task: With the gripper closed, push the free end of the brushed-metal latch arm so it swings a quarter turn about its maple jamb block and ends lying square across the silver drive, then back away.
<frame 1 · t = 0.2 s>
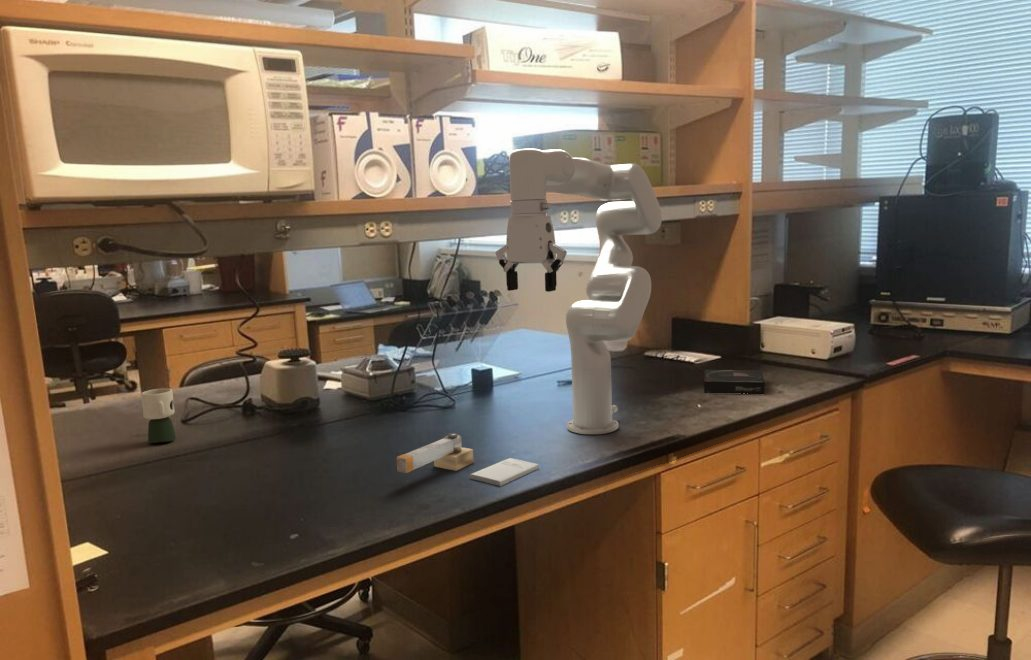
hand: (531, 290, 163), 37 cm above the lab bench, fingers open, 9 cm apart
external hard drive: (505, 476, 158), on the lab bench
latch arm: (431, 451, 158), point 5 cm above the lab bench, hinge at 0.0°
character mug: (162, 442, 191), on the lab bench
portable cd player: (733, 389, 225), on the lab bench
jamb block: (454, 464, 165), on the lab bench
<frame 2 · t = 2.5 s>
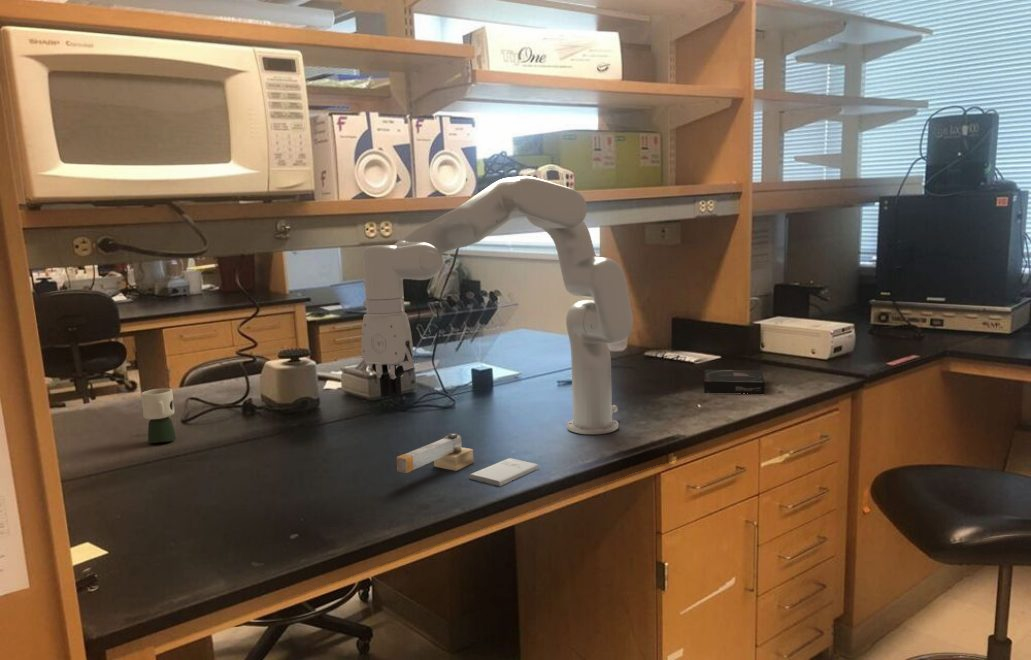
hand: (391, 395, 156), 17 cm above the lab bench, fingers closed
nothing on the lab bench moved.
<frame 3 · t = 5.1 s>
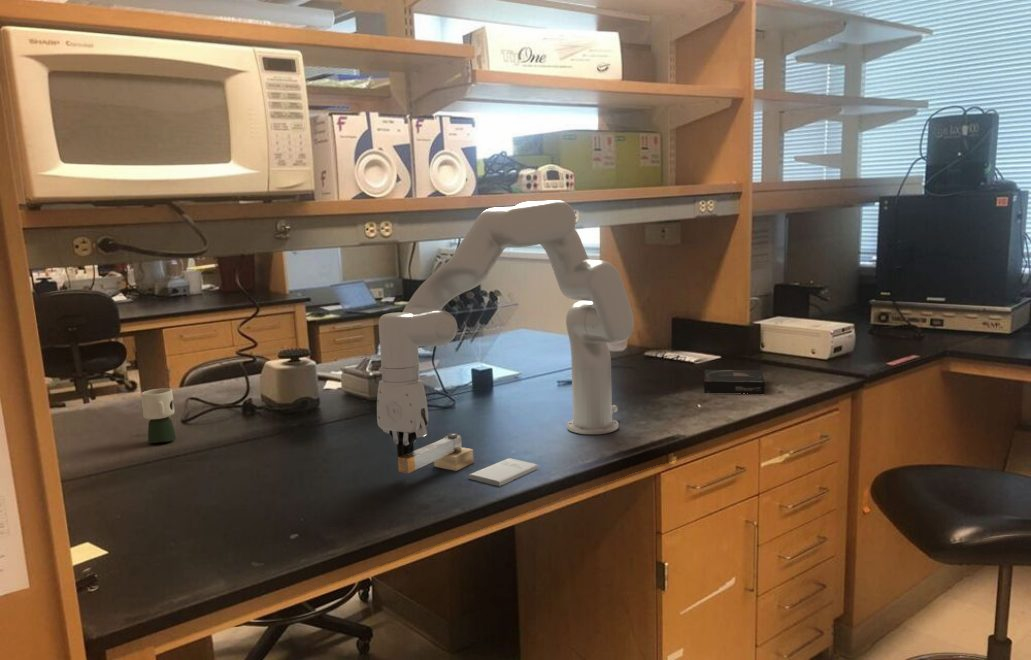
hand: (406, 461, 157), 4 cm above the lab bench, fingers closed
latch arm: (431, 451, 158), point 5 cm above the lab bench, hinge at 1.5°, touching gripper
everything else where it was.
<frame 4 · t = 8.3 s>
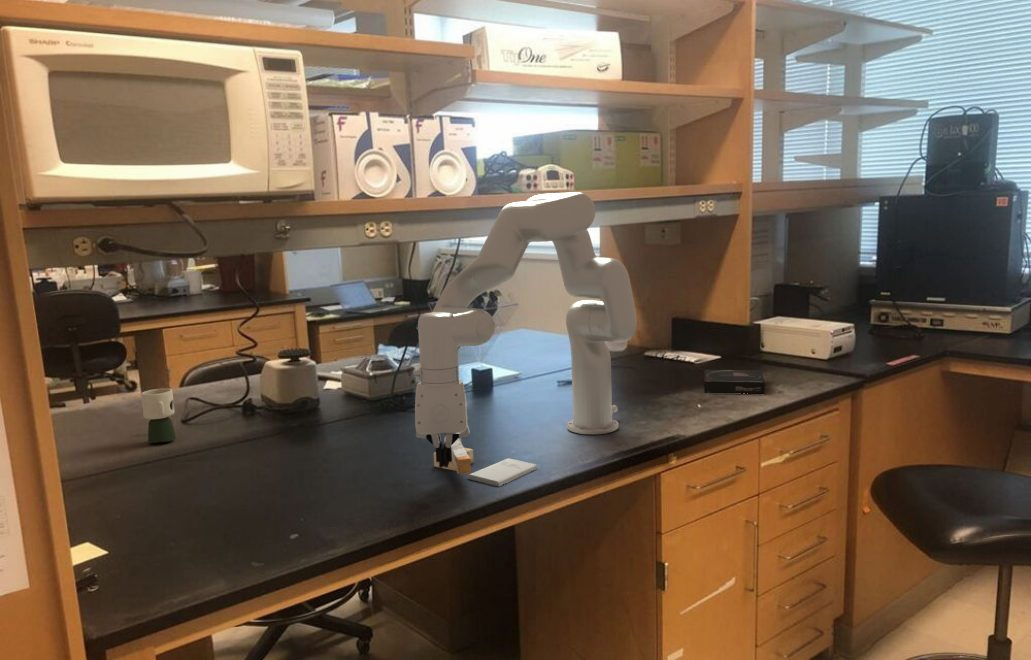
hand: (444, 465, 153), 4 cm above the lab bench, fingers closed
latch arm: (457, 451, 157), point 5 cm above the lab bench, hinge at 47.1°, touching gripper
everything else where it was.
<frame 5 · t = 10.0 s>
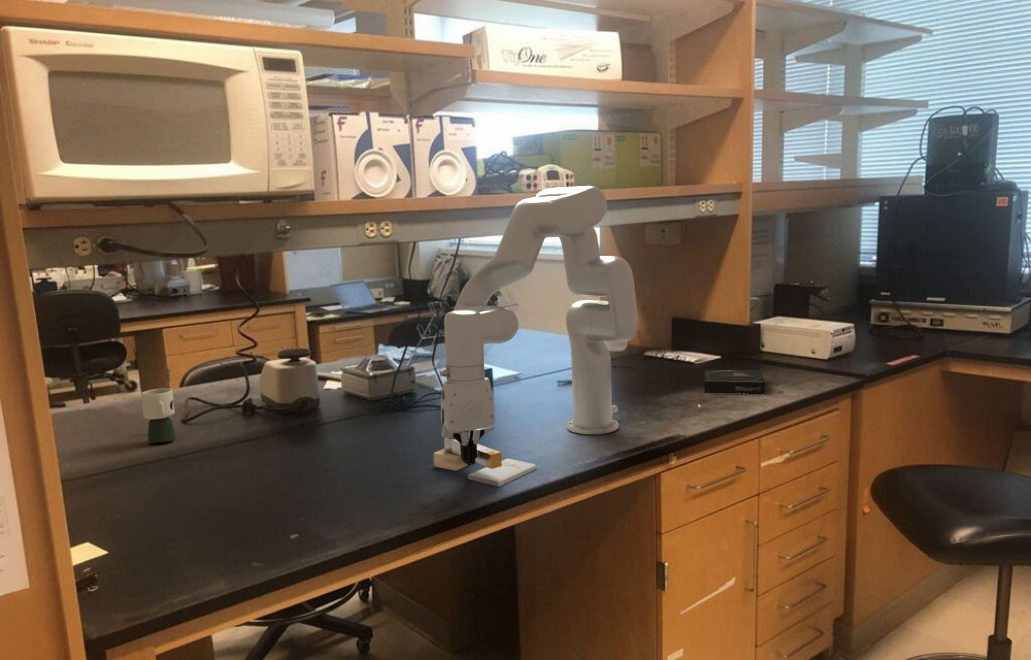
hand: (469, 462, 153), 4 cm above the lab bench, fingers closed
latch arm: (471, 449, 158), point 5 cm above the lab bench, hinge at 71.8°, touching gripper
everything else where it was.
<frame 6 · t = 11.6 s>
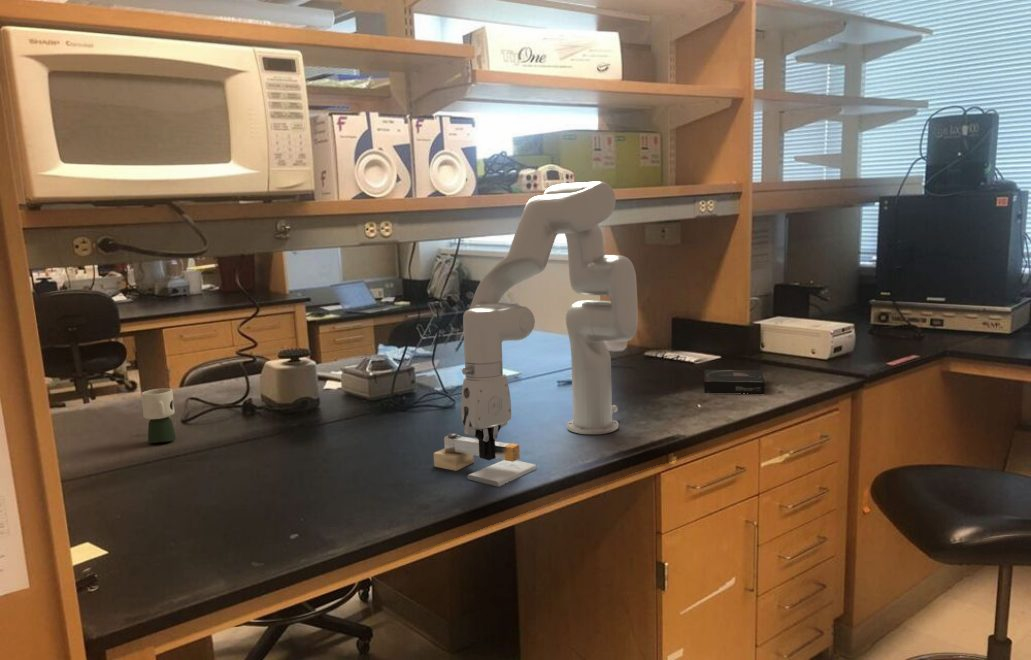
hand: (487, 458, 156), 4 cm above the lab bench, fingers closed
latch arm: (480, 446, 160), point 5 cm above the lab bench, hinge at 92.9°, touching gripper
everything else where it was.
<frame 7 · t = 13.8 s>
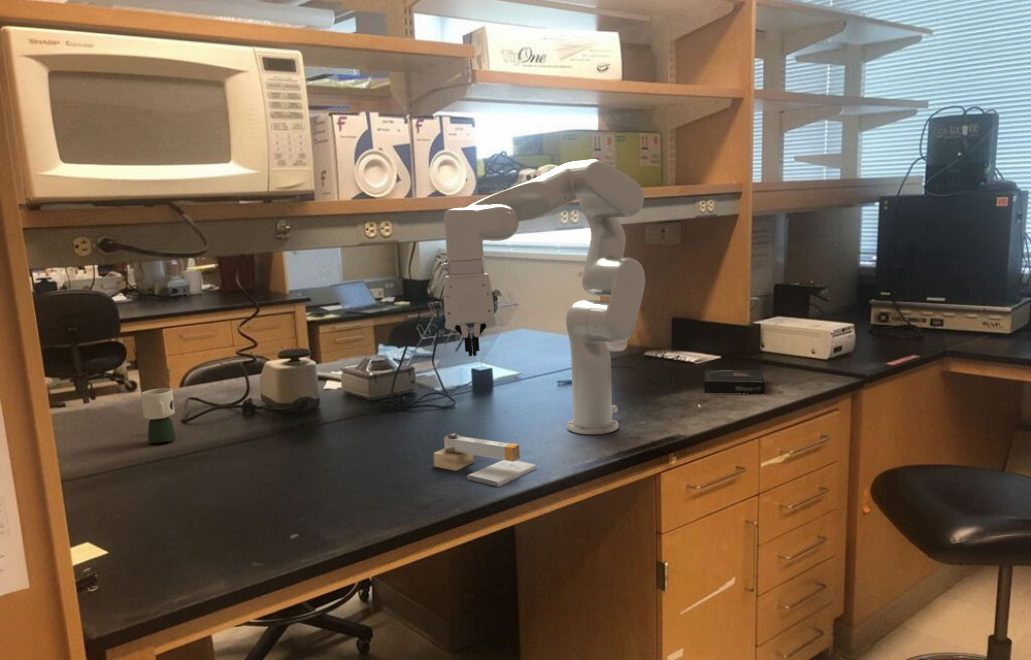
hand: (472, 354, 161), 24 cm above the lab bench, fingers closed
latch arm: (480, 446, 160), point 5 cm above the lab bench, hinge at 93.0°
everything else where it was.
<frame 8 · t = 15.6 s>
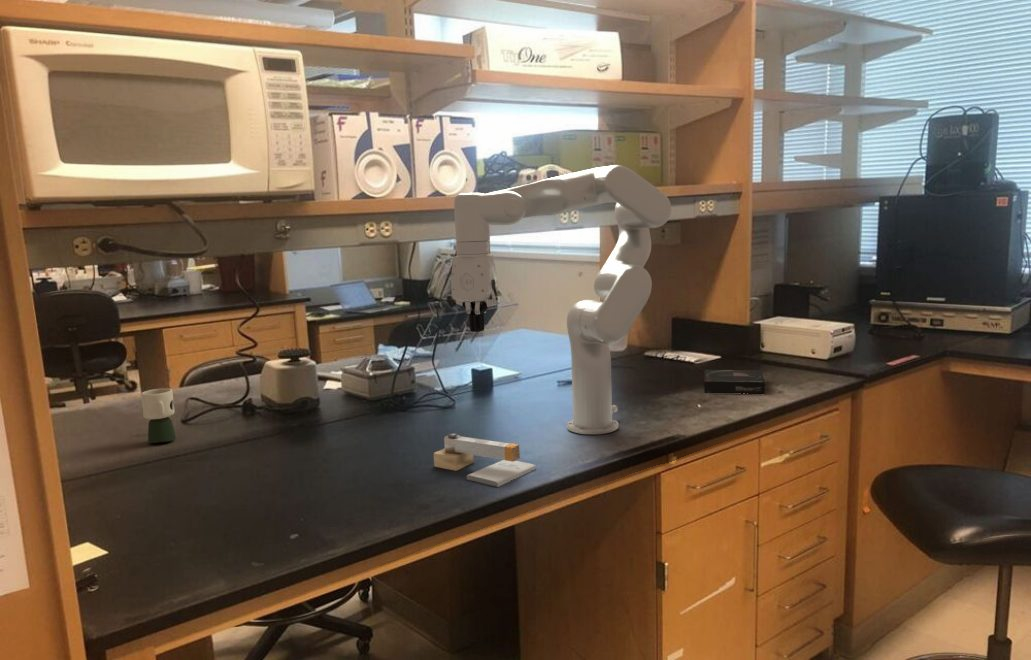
hand: (477, 331, 172), 27 cm above the lab bench, fingers closed
nothing on the lab bench moved.
at the end: latch arm at +93° (first picture: +0°); external hard drive moved 1.1 cm from its start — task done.
